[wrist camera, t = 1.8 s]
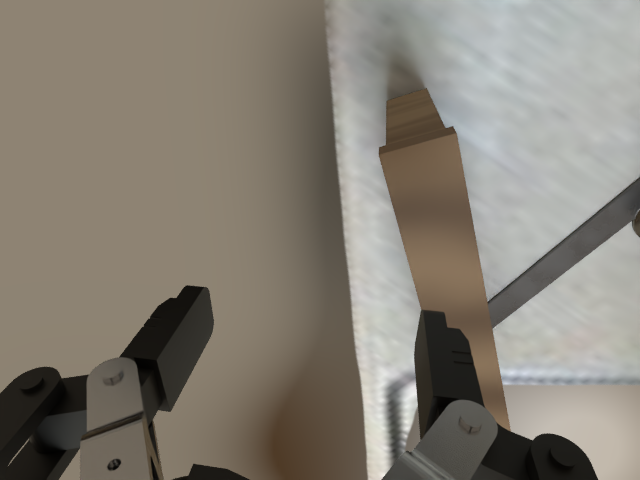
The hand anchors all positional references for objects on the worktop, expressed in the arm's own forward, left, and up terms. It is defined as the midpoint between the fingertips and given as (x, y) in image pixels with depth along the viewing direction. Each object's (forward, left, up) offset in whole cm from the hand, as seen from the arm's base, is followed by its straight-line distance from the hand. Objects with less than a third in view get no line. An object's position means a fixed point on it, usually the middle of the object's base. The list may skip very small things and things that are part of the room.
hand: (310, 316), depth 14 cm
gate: (+9, +5, -21) cm, 24 cm away
